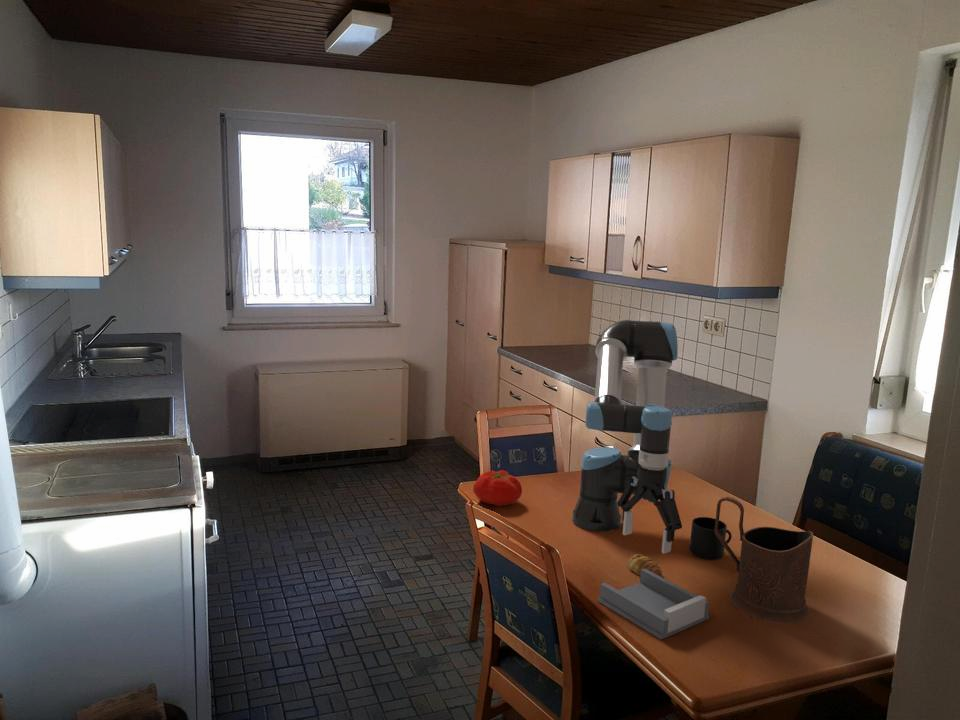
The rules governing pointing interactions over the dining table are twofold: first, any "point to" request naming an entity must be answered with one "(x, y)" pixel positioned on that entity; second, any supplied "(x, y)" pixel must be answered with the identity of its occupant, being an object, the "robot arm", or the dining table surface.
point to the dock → (656, 605)
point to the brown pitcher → (770, 571)
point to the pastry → (643, 565)
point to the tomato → (497, 488)
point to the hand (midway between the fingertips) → (646, 542)
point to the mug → (707, 538)
